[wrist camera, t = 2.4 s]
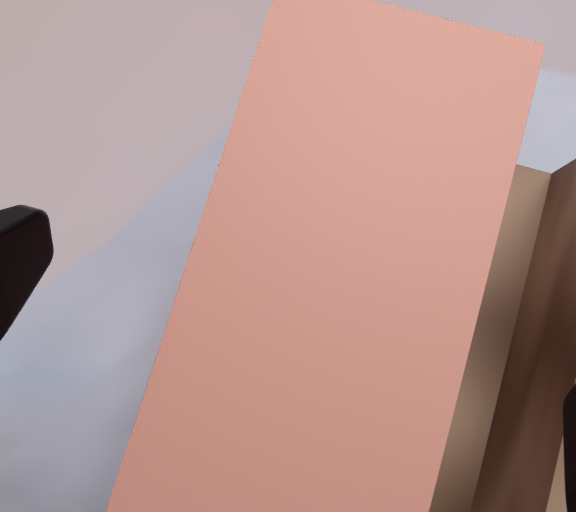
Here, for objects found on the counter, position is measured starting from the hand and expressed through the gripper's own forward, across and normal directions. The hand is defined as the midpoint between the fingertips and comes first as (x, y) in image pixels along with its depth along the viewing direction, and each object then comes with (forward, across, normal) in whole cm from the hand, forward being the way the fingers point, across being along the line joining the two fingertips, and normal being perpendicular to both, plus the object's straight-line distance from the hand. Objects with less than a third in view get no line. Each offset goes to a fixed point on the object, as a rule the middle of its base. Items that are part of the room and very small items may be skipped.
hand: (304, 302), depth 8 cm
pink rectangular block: (+6, 0, +6) cm, 9 cm away
